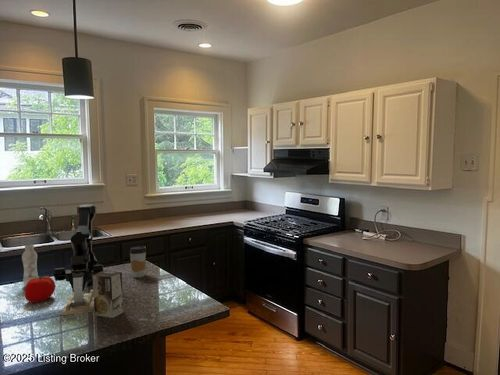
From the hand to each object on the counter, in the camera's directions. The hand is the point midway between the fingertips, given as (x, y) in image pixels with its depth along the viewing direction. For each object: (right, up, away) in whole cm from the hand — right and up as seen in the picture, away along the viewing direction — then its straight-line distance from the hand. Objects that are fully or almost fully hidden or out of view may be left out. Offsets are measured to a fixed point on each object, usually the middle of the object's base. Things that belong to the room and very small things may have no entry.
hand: (78, 291), depth 146 cm
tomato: (-22, -7, +12) cm, 26 cm away
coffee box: (+14, -8, -4) cm, 16 cm away
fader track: (-2, -7, +6) cm, 9 cm away
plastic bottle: (-37, -6, +31) cm, 49 cm away
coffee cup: (+11, -5, +45) cm, 46 cm away
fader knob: (0, -6, +2) cm, 6 cm away
